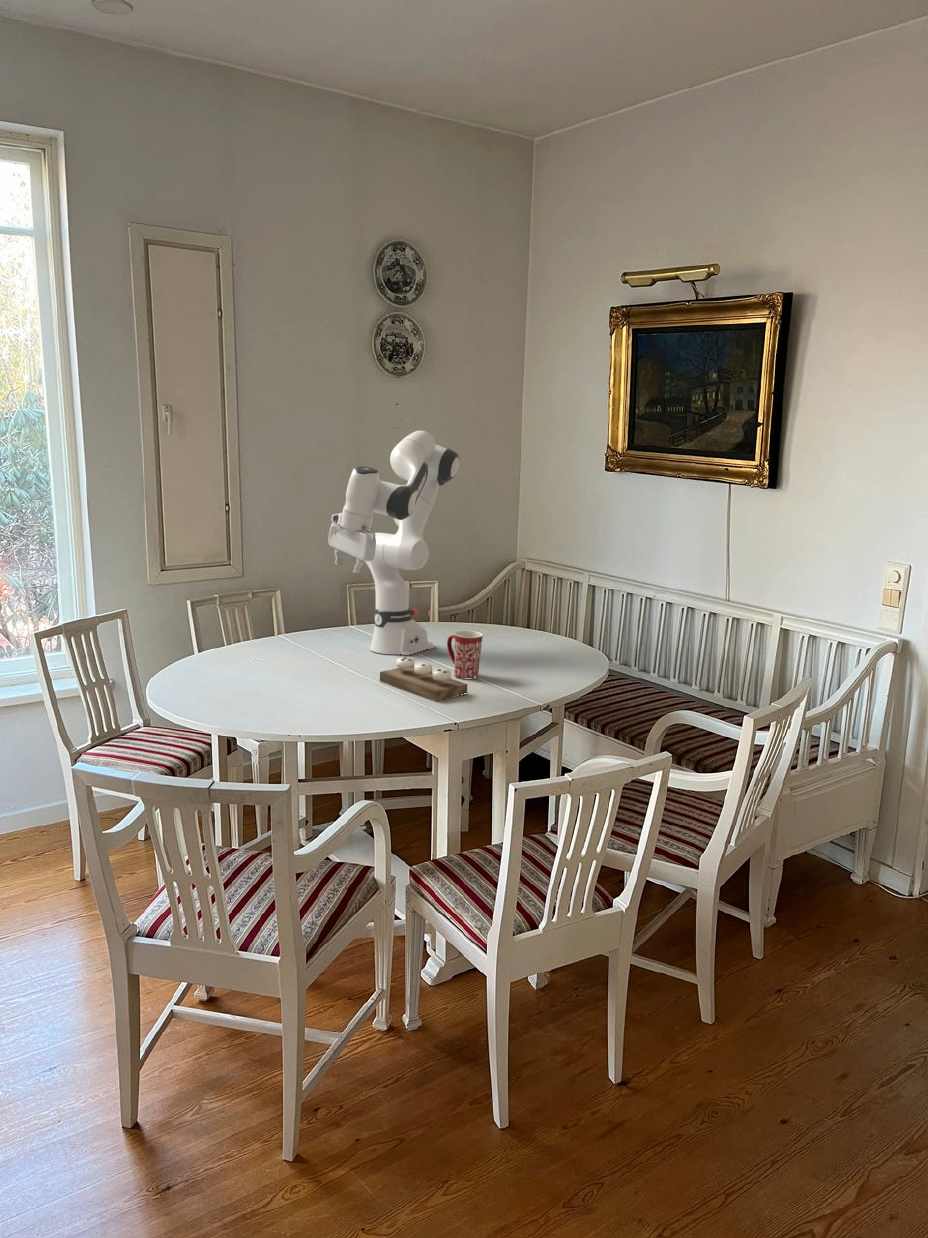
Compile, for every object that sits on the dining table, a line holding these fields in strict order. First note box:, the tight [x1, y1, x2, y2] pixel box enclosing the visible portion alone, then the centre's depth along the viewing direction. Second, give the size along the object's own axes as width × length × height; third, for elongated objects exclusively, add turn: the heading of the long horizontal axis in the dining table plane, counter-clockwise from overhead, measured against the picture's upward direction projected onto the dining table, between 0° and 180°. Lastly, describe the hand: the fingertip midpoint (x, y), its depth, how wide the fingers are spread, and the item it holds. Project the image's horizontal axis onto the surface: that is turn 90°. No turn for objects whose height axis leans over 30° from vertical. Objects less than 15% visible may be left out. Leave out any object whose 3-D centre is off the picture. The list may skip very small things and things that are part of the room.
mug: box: [446, 629, 484, 679], centre depth 289 cm, size 13×9×14 cm
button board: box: [379, 667, 469, 703], centre depth 275 cm, size 12×25×3 cm, turn 44°
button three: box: [396, 656, 415, 668], centre depth 280 cm, size 5×5×2 cm
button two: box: [432, 668, 452, 681], centre depth 268 cm, size 5×5×2 cm
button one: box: [414, 662, 433, 674], centre depth 274 cm, size 5×5×2 cm
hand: (347, 568), depth 277 cm, fingers open, 8 cm apart
